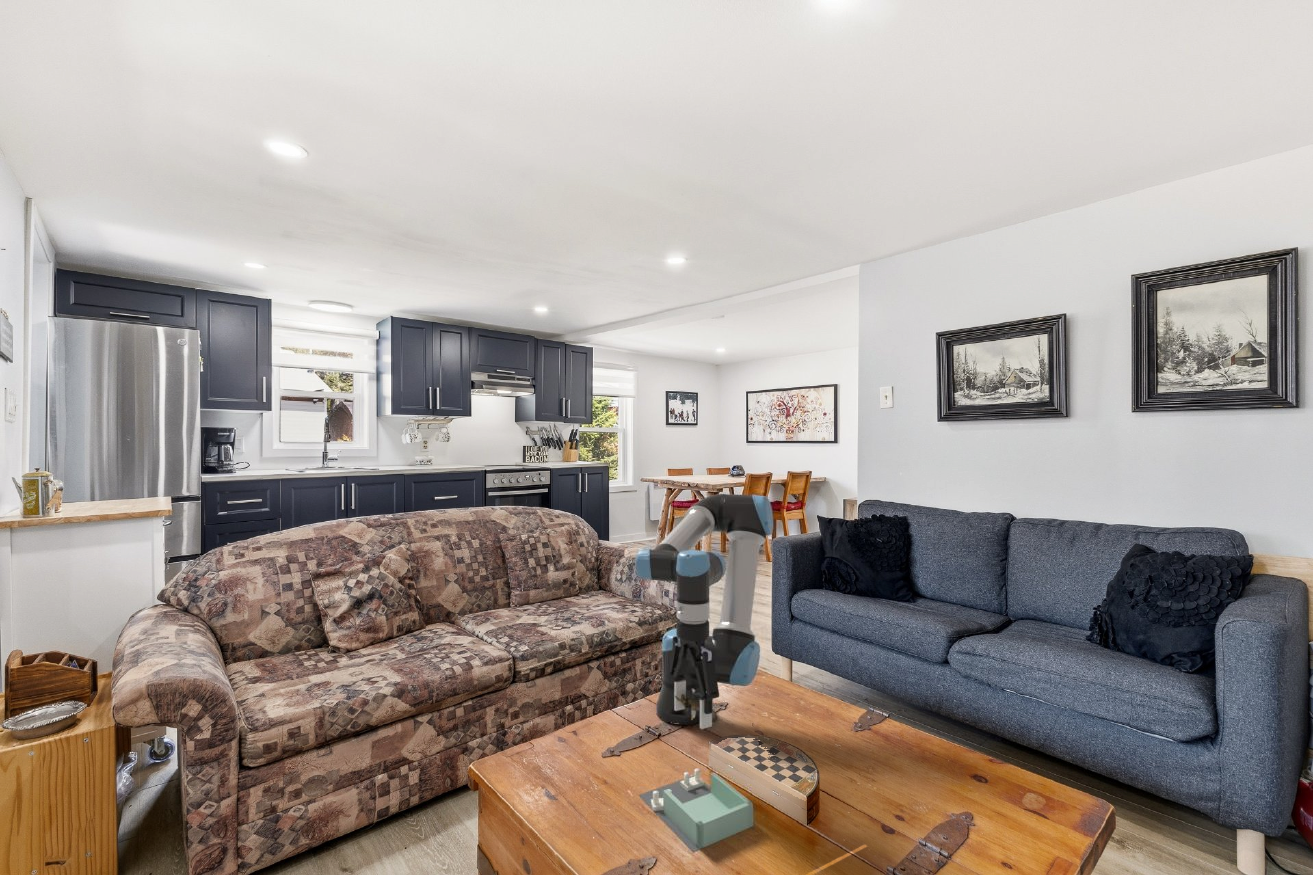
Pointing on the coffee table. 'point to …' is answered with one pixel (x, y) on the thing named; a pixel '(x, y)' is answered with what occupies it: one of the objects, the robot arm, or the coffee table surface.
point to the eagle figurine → (695, 704)
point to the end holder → (710, 813)
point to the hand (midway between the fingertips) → (692, 717)
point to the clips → (686, 784)
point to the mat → (683, 798)
